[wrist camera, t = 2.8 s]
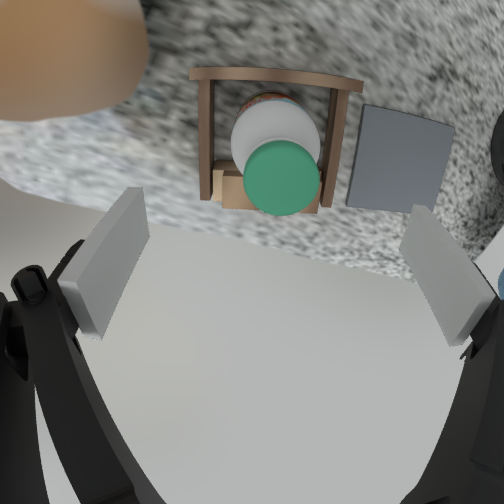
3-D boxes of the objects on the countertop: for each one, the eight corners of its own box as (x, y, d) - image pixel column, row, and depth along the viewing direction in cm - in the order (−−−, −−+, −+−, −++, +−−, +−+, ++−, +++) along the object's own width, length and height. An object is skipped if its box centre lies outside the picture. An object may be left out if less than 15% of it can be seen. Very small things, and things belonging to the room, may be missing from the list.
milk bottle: (316, 116, 33) (371, 176, 17) (276, 161, 36) (289, 258, 20) (264, 76, 30) (270, 91, 14) (225, 126, 34) (191, 196, 18)
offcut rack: (342, 76, 30) (363, 81, 23) (325, 195, 39) (338, 226, 32) (204, 66, 29) (189, 67, 23) (205, 188, 39) (193, 218, 32)
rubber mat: (452, 126, 31) (455, 128, 31) (428, 213, 40) (430, 216, 39) (362, 104, 31) (364, 104, 31) (345, 204, 40) (346, 206, 39)
